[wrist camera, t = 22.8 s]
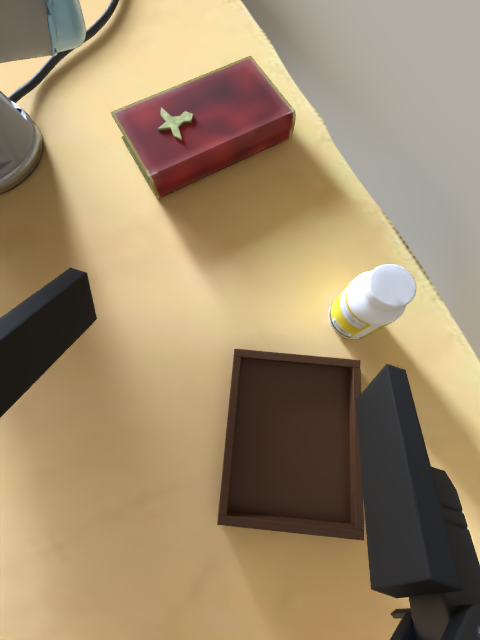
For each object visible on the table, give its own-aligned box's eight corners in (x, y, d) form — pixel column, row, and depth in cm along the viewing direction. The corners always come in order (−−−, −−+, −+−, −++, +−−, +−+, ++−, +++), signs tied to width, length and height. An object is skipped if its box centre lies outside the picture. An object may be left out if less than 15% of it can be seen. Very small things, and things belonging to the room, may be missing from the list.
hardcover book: (291, 139, 40) (297, 110, 36) (158, 201, 38) (148, 177, 34) (249, 85, 43) (250, 53, 39) (122, 139, 40) (109, 110, 36)
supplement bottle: (373, 298, 34) (424, 259, 24) (373, 342, 32) (428, 319, 23) (327, 293, 34) (361, 253, 25) (326, 337, 33) (361, 312, 23)
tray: (234, 351, 32) (234, 348, 31) (354, 362, 32) (360, 360, 30) (218, 517, 28) (217, 525, 26) (357, 532, 27) (364, 540, 26)
